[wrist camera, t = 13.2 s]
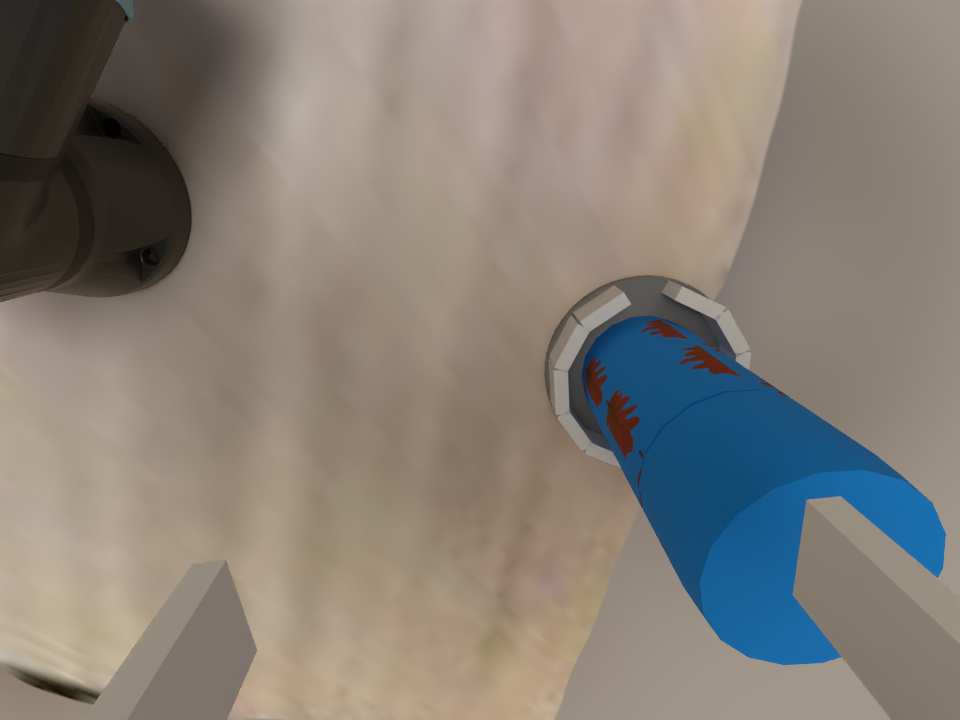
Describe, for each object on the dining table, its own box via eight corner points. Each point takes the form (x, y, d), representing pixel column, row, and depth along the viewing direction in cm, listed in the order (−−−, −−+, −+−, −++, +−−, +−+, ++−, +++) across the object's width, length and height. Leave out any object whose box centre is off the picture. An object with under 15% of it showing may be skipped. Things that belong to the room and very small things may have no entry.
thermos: (628, 446, 48) (780, 702, 24) (554, 370, 45) (644, 574, 21) (723, 372, 45) (995, 575, 22) (651, 287, 43) (872, 414, 19)
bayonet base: (549, 457, 49) (555, 479, 45) (539, 285, 44) (545, 295, 40) (723, 441, 49) (744, 462, 45) (736, 266, 43) (761, 274, 39)
